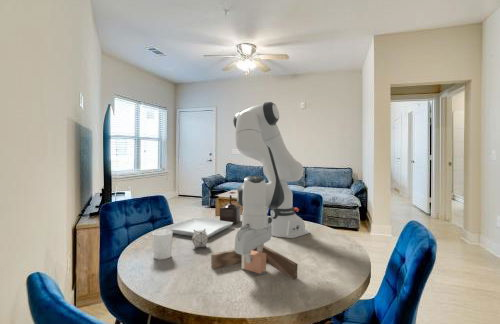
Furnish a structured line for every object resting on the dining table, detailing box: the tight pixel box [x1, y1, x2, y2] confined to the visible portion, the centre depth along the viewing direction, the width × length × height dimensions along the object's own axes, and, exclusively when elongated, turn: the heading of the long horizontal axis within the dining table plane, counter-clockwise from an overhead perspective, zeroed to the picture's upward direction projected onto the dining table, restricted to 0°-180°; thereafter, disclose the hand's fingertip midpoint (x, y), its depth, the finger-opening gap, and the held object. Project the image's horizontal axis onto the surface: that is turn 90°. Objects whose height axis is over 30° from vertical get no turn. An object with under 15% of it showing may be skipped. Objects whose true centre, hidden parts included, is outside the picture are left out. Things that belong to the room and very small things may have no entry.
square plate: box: [163, 217, 234, 238], centre depth 150 cm, size 27×27×4 cm
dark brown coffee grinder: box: [219, 194, 242, 225], centre depth 168 cm, size 16×11×18 cm
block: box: [241, 250, 267, 274], centre depth 101 cm, size 8×4×6 cm, turn 58°
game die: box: [189, 229, 211, 250], centre depth 124 cm, size 9×8×10 cm
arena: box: [210, 245, 298, 280], centre depth 99 cm, size 22×22×5 cm
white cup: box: [151, 229, 174, 260], centre depth 113 cm, size 8×8×10 cm
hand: (253, 259), depth 101 cm, fingers open, 5 cm apart
